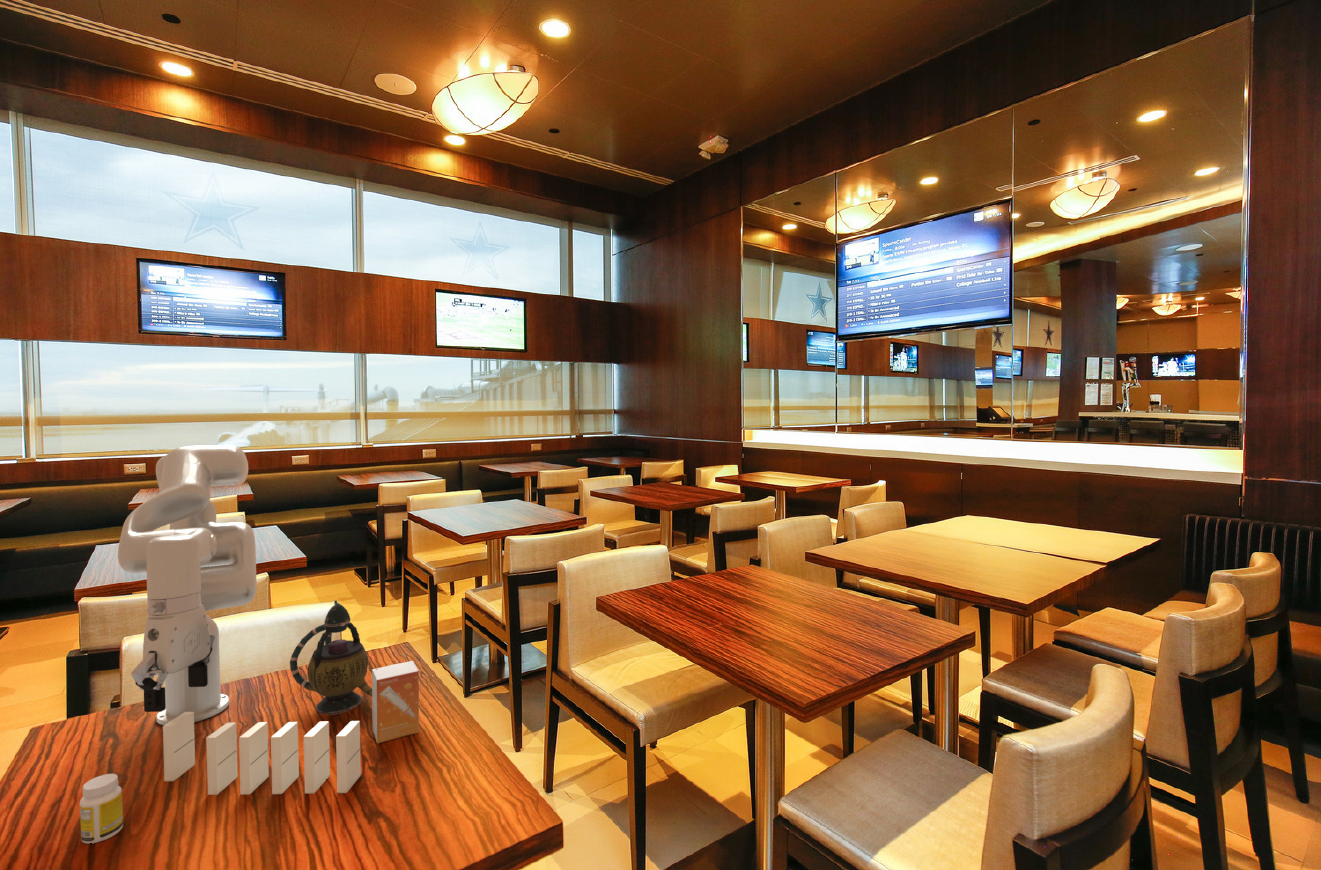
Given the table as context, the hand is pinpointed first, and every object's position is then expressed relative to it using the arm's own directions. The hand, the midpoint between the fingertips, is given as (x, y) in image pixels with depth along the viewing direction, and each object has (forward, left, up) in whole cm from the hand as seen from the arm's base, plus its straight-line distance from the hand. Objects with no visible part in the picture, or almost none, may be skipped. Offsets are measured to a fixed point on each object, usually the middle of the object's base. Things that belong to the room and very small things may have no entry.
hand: (177, 698), depth 107 cm
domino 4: (+11, +19, -14) cm, 26 cm away
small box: (-2, +36, -14) cm, 39 cm away
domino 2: (+7, +8, -14) cm, 18 cm away
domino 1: (-1, 0, -14) cm, 14 cm away
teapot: (-16, +26, -14) cm, 34 cm away
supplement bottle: (+14, -5, -14) cm, 21 cm away
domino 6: (+14, +29, -14) cm, 35 cm away
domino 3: (+9, +14, -14) cm, 21 cm away
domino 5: (+12, +24, -14) cm, 30 cm away
